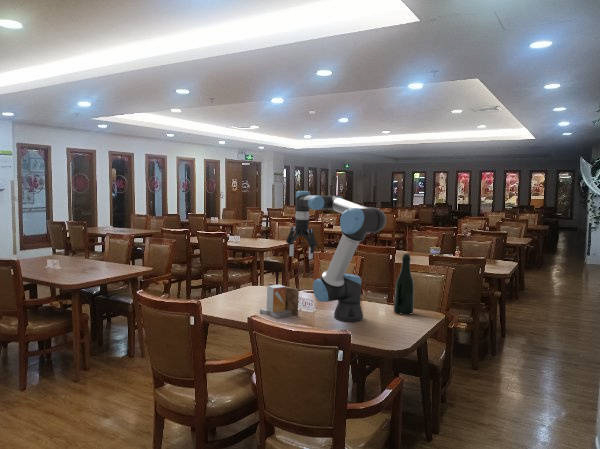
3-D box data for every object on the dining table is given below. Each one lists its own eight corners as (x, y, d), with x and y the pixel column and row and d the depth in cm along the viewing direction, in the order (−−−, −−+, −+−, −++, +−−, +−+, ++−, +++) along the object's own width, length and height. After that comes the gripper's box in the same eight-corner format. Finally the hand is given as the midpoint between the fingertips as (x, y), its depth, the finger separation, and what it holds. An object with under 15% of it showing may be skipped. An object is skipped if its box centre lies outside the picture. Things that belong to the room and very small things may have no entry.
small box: (272, 312, 246) (273, 288, 244) (266, 309, 251) (266, 285, 250) (285, 310, 250) (286, 286, 249) (279, 307, 255) (279, 284, 254)
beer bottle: (390, 312, 261) (393, 253, 258) (400, 309, 269) (403, 251, 266) (407, 316, 254) (410, 255, 251) (416, 313, 262) (419, 254, 259)
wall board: (297, 315, 250) (298, 289, 248) (284, 319, 241) (285, 292, 240) (269, 308, 262) (270, 283, 261) (256, 311, 254) (256, 286, 252)
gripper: (324, 220, 254) (323, 259, 256) (289, 217, 270) (288, 254, 271) (316, 221, 248) (314, 261, 250) (280, 217, 264) (279, 255, 266)
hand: (300, 257), depth 261 cm, fingers open, 13 cm apart
